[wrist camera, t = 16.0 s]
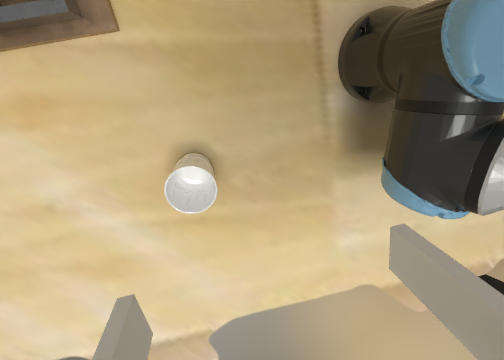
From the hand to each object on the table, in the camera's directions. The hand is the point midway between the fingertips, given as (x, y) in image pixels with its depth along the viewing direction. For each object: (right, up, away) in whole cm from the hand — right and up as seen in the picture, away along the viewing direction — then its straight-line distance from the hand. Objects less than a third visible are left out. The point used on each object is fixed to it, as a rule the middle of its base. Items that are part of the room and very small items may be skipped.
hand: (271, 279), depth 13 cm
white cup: (-12, +7, +35) cm, 38 cm away
